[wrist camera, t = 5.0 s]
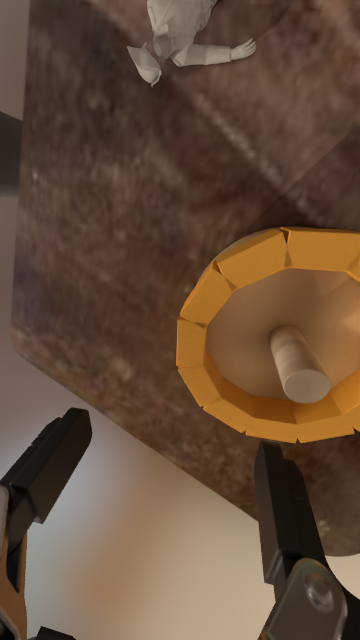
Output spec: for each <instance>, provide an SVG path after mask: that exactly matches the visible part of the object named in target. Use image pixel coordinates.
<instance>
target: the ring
mask: <svg viewBox="0 0 360 640" xmlns="http://www.w3.org/2000/svg"><path fill="white" fill-rule="evenodd" d="M287 268H298V269H312V270H327V271H342V272H344V273H346V274H347V275H348V276H350V277H351V278H352V279H354V280H355V281H357V282H358V283H359V284H360V232H356V231H350V230H341V229H318V228H294V227H281V228H280V231H278V230H276V229H272V230H270V231H268V232H266V233H264V234H262V235H260V236H258V237H256V238H254V239H252V240H250V241H248V242H246V243H244V244H242V245H239V246H237V247H235V248H233V249H231V250H229V251H227V252H225V253H223V254H221V255H219V257H218V262H217V261H216V260H214V261H213V262H212V263H211V265H210V266H209V268H208V269H207V271H206V272H205V274H204V275H203V276H202V278H201V279H200V281H199V282H198V284H197V285H196V287H195V288H194V290H193V291H192V292H191V294H190V295H189V297H188V298H187V300H186V301H185V303H184V306H183V308H182V310H181V312H180V316H179V318H178V328H177V363H176V365H177V366H179V368H178V371H179V373H180V374H181V376H182V378H183V379H184V381H185V383H186V384H187V386H188V388H189V389H190V391H191V393H192V394H193V396H194V397H195V399H196V401H197V402H198V404H199V406H204V408H203V409H204V410H205V411H206V412H208V413H210V414H211V415H213V416H215V417H216V418H218V419H219V420H221V421H223V422H224V423H226V424H228V425H229V426H231V427H233V428H234V429H236V430H237V431H239V432H241V433H243V432H244V431H245V430H246V435H249V436H255V437H261V438H267V439H273V440H279V441H285V442H291V443H296V440H297V437H298V439H299V441H300V443H304V442H310V441H315V440H321V439H326V438H332V437H337V436H343V435H348V434H354V430H353V427H354V428H355V429H357V430H358V431H360V368H359V369H358V370H356V371H355V372H354V373H352V374H351V375H350V376H348V377H347V378H346V379H344V380H343V381H342V382H340V383H339V384H338V385H336V386H335V387H334V388H332V389H331V390H330V391H329V392H328V393H327V395H326V396H325V397H324V398H322V399H321V400H319V401H316V402H313V403H298V402H295V401H293V400H290V401H288V400H281V399H274V398H267V397H260V396H253V395H250V394H248V393H247V392H245V391H244V390H242V389H240V388H239V387H237V386H236V385H234V384H232V383H231V382H229V381H228V380H226V379H225V378H223V377H222V376H221V374H220V372H219V371H218V369H217V367H216V365H215V363H214V361H213V359H212V358H211V356H210V354H209V352H208V350H207V348H206V344H207V333H208V325H209V324H210V322H211V321H212V320H213V319H214V317H215V316H216V315H217V314H218V312H219V311H220V310H221V309H222V307H223V306H224V305H225V303H226V302H227V301H228V300H229V298H230V297H231V296H232V295H233V293H234V292H235V291H236V290H238V289H240V288H242V287H245V286H247V285H249V284H252V283H254V282H256V281H259V280H261V279H263V278H266V277H268V276H270V275H273V274H275V273H277V272H280V271H282V270H284V269H287Z"/></svg>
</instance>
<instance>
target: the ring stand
mask: <svg viewBox="0 0 360 640" xmlns="http://www.w3.org/2000/svg"><path fill="white" fill-rule="evenodd" d="M282 227H294V228H311V227H302V226H282ZM280 228H281V227H275V228H269V229H265V230H262V231H258V232H255V233H253V234H250V235H248V236H246V237H243V238H241V239H240V240H238V241H236V242H234V243H233V244H231V245H230V246H228V247H227V248H226V249H224V250H223V251H222V252H220V253H219V254H218V255H217V256H216V257H215V258H214V259H213V260H212V261H211V263H212V262H213V261H214V260H216V261H217V262H218V257H219V255H221V254H223V253H225V252H227V251H229V250H231V249H233V248H235V247H237V246H239V245H242V244H244V243H246V242H248V241H250V240H252V239H254V238H256V237H258V236H260V235H262V234H264V233H266V232H268V231H270V230H272V229H276V230H278V231H280ZM211 263H210V264H209V265H208V266H207V268H206V269H205V270H204V272H203V273H202V275H201V277H200V279H201V278H202V276H203V275H204V274H205V272H206V271H207V269H208V268H209V266H210V265H211ZM200 279H199V280H198V282H199V281H200ZM198 282H197V284H198ZM206 348H207V350H208V352H209V354H210V356H211V358H212V359H213V361H214V363H215V365H216V367H217V369H218V371H219V372H220V374H221V376H222V377H223V378H225V379H226V380H228V381H229V382H231V383H232V384H234V385H236V386H237V387H239V388H240V389H242V390H244V391H245V392H247V393H248V394H250V395H253V396H260V397H267V398H274V399H281V400H288V401H290V400H293V401H295V402H298V403H313V402H316V401H319V400H321V399H322V398H324V397H325V396H326V395H327V393H328V392H329V391H330V390H331V389H332V388H334V387H335V386H336V385H338V384H339V383H340V382H342V381H343V380H344V379H346V378H347V377H348V376H350V375H351V374H352V373H354V372H355V371H356V370H358V369H359V368H360V284H359V283H358V282H357V281H355V280H354V279H352V278H351V277H350V276H348V275H347V274H346V273H344V272H342V271H327V270H312V269H298V268H287V269H284V270H282V271H280V272H277V273H275V274H273V275H270V276H268V277H266V278H263V279H261V280H259V281H256V282H254V283H252V284H249V285H247V286H245V287H242V288H240V289H238V290H236V291H235V292H234V293H233V295H232V296H231V297H230V298H229V300H228V301H227V302H226V303H225V305H224V306H223V307H222V309H221V310H220V311H219V312H218V314H217V315H216V316H215V317H214V319H213V320H212V321H211V322H210V324H209V325H208V333H207V344H206Z"/></svg>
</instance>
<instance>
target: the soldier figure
mask: <svg viewBox="0 0 360 640" xmlns="http://www.w3.org/2000/svg"><path fill="white" fill-rule="evenodd" d="M216 2H217V0H148V1H147V6H148V13H149V17H150V20H151V24H152V32H153V34H154V38H152V39H154V40H153V45H154V50H155V52H156V55H158V56H159V62H160V57H161V58H163V59H166V58H168V57H169V58H171V59H172V61H173V62H174V63H175V64H176V65H177V66H179V67H181V66H186V65H196V64H204V65H209V64H218V63H224V62H230V61H231V60H236V59H240V58H245V57H247V56H249V55H251V54H252V53H253V52H254V51H255V50H256V48H255V47H256V45H254V44H255V41H254V42H253V43H251V44H250V45H248V44H249V43H250V42H251V41H252V39H253V38H251V39H249V40H248V41H247V42H246V43H244V44H242V45H239V46H237V47H235V48H234V49H231V48H230V46H215V45H198V44H194V43H193V42H194V37H195V35H196V33H198V34H199V33H200V32H201V31H202V29H203V28H204V27H205V26H206V24H207V23H208V20H209V19H210V18H211V17H210V14H211V10H212V8H213V6H214V5H215V4H216ZM147 43H148V40H147ZM147 43H146V42H145V44H144V45H143V46H142V47H141V48H133V47H130V46H127V48H128V51H129V53H130V56H131V57H132V59H133V61H134V62H135V65H136V67H137V69H138V71H139V73H140V75H141V77H142V78H143V79H144V80H145V81H147V82H148V83H152V85H151V86H152V88H153V84H155V83H157V82H158V80H159V78H160V75H161V73H162V72H161V67H160V65H159V64H158V62H157V61H156V60H155V59H154V57H153V56H152V55H150V54H149V53H148V52H147V50H146V48H145V47H146V44H147ZM149 43H150V44H151V42H149ZM247 45H248V46H247ZM253 45H254V46H253ZM245 46H246V47H245ZM252 46H253V47H252ZM250 47H252V48H250ZM249 48H250V49H249ZM254 48H255V49H254Z"/></svg>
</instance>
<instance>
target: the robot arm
mask: <svg viewBox="0 0 360 640" xmlns="http://www.w3.org/2000/svg"><path fill="white" fill-rule="evenodd" d="M91 438H92V428H91V422H90V417H89V412H88V410H85V409H79V408H70V409H69V410H68V411H67V412H66V414H65V415H64V416H63V417H62V418H59V417H58V418H56V419H55V420H53V421H52V422H51V423H49V424H48V425H46V427H45V428H44V429H43V430H42V431H41V433H40V434H39V435H38V437H37V438H36V439H35V440H34V441H33V442H32V443H31V446H30V447H28V448H27V450H26V451H25V452H24V453H23V454H22V455H21V457H20V458H19V459H18V460H17V461H16V463H15V464H14V465H13V466H12V467H11V469H10V470H9V471H8V472H7V473H6V475H5V476H4V477H3V478H2V479H1V480H0V640H76V639H75V638H73V636H70V635H67V634H64V633H61V632H58V631H55V630H52V629H48V628H46V627H43V626H41V628H40V630H39V632H38V634H37V637H32V638H29V639H27V613H26V606H25V599H24V587H25V569H26V550H27V530H28V529H29V527H30V526H31V524H32V522H36V523H41V524H43V523H44V521H45V519H46V518H47V516H48V514H49V513H50V511H51V509H52V507H53V506H54V504H55V502H56V501H57V499H58V497H59V495H60V494H61V492H62V490H63V489H64V487H65V485H66V484H67V482H68V480H69V478H70V476H71V475H72V473H73V472H74V470H75V468H76V467H77V465H78V463H79V461H80V460H81V458H82V456H83V455H84V453H85V451H86V449H87V447H88V446H89V444H90V442H91ZM254 481H255V491H256V502H257V512H258V522H259V532H260V542H261V552H262V563H263V573H264V582H265V583H268V584H272V585H274V593H275V601H276V603H275V605H274V607H273V609H272V611H271V613H270V615H269V617H268V619H267V621H266V623H265V625H264V627H263V629H262V631H261V633H260V635H259V637H258V639H257V640H360V599H358V598H357V597H355V596H354V595H352V594H351V593H350V592H349V591H348V590H346V589H345V588H344V587H343V585H342V584H341V583H340V582H339V581H338V580H337V578H336V577H335V575H334V574H333V572H332V571H331V569H330V567H329V565H328V563H327V561H326V558H325V555H324V551H323V548H322V544H321V541H320V537H319V533H318V530H317V526H316V523H315V519H314V515H313V512H312V508H311V505H310V501H309V498H308V494H307V492H306V487H305V483H304V480H303V476H302V473H301V472H300V470H299V469H298V467H297V466H296V464H295V463H294V461H293V460H288V459H283V454H282V450H281V446H280V444H279V443H273V442H267V441H260V444H259V448H258V452H257V456H256V460H255V465H254Z"/></svg>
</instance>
